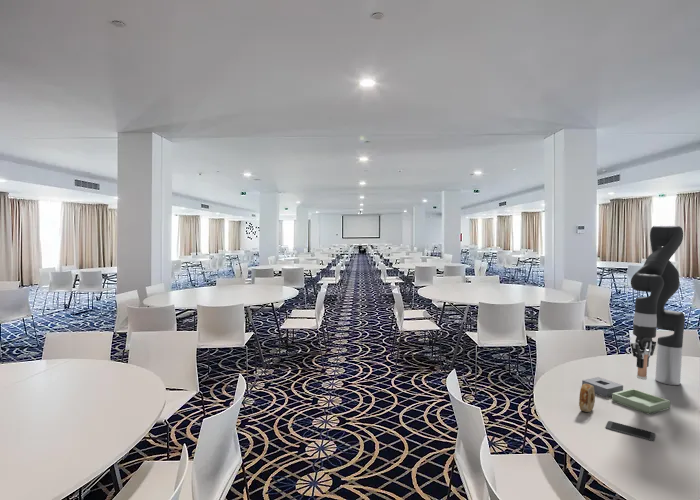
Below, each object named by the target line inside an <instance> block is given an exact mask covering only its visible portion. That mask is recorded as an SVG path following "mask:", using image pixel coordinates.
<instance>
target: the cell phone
mask: <svg viewBox="0 0 700 500" xmlns="http://www.w3.org/2000/svg"><path fill="white" fill-rule="evenodd" d="M604 428H605V429H606V430H609V431H612V432H616V433H620V434H624V435H628V436H630V437H635V438H637V439H638V438H639V439H642V440H646V441H650V442H655V439H656V433H655V432H653V431H650V430H647V429H644V428H643V429H642V428H638V427H635V426H631V425H627V424H623V423H620V422H616V421H613V420H608V421H607V423H606V424H605V427H604Z"/></svg>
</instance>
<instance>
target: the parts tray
mask: <svg viewBox="0 0 700 500" xmlns="http://www.w3.org/2000/svg"><path fill="white" fill-rule="evenodd" d="M611 401H612V402H615V403H617V404H619V405H623V406H625V407H628V408H631V409H633V410H636V411H639V412H641V413H644V414H646V415H652V414H655V413H658V412H661V411H665V410H668V409H670V407H671V400H669V399H666V398H662V397H660V396H658V395H654V394H651V393H649V392H644V391H642V390H639V389H635V388H628V389H623V391H620V392H616V393H612V396H611Z"/></svg>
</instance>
